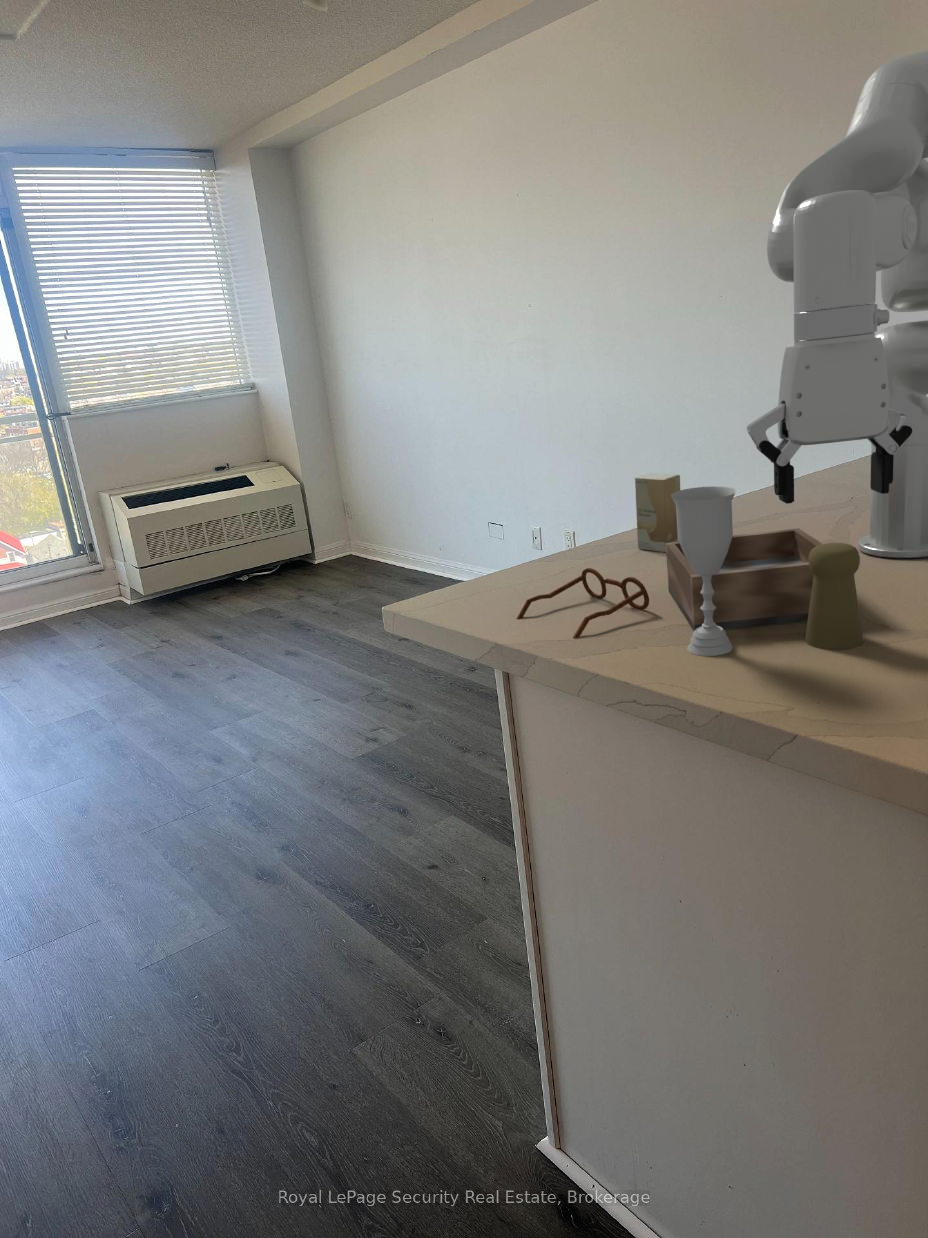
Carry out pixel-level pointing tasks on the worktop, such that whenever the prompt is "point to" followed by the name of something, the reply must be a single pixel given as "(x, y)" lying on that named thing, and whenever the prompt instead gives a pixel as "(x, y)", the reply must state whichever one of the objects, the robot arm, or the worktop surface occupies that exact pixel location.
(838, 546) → the cork
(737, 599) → the wooden box
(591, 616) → the glasses
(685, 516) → the chalice
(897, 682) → the worktop surface
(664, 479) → the skincare box
